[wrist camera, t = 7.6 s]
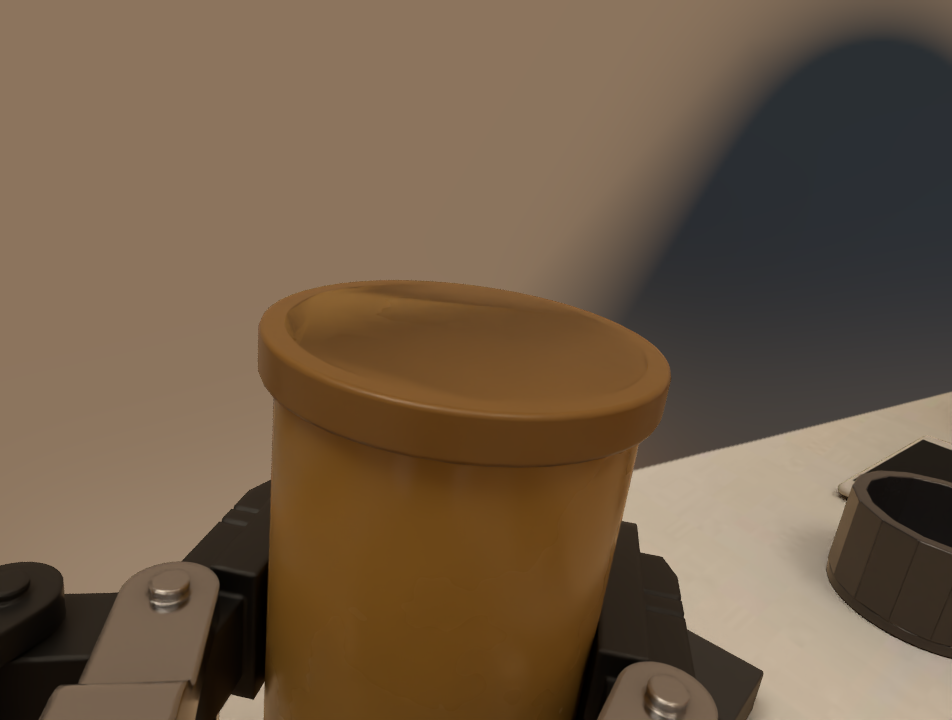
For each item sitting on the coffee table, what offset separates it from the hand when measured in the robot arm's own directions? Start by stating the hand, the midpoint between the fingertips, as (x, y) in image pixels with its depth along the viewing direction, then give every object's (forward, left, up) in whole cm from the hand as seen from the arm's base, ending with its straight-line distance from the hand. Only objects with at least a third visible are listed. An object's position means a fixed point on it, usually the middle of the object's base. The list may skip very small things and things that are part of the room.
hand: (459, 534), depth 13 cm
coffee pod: (+1, -2, -7) cm, 8 cm away
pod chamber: (+7, +26, -11) cm, 29 cm away
